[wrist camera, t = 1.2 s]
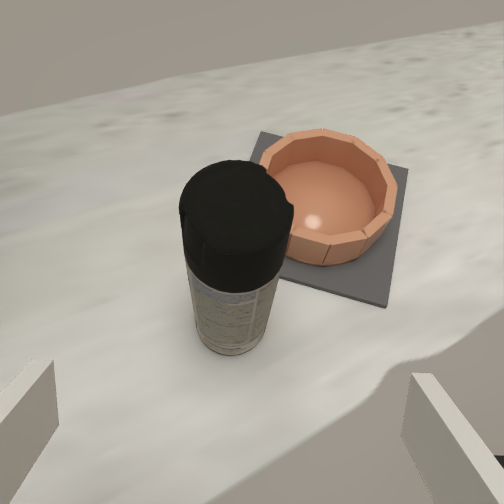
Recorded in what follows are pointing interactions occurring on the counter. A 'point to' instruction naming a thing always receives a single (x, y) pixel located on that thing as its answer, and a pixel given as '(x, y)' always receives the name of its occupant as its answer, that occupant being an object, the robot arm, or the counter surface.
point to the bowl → (331, 194)
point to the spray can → (233, 250)
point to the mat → (356, 271)
